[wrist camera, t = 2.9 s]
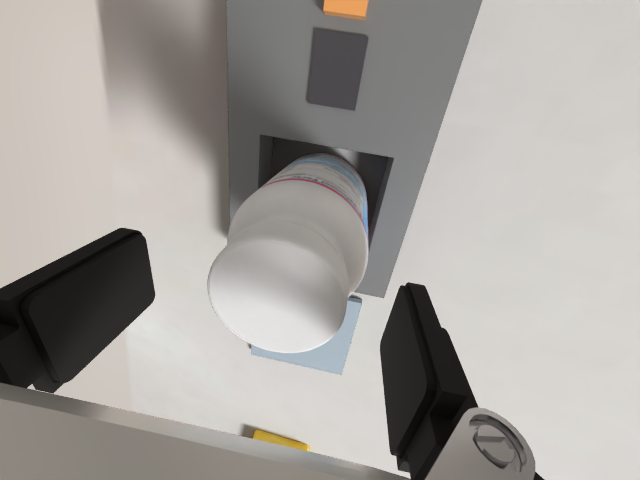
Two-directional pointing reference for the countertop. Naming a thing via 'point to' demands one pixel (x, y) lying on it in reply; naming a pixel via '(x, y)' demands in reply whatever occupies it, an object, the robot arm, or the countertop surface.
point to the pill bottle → (293, 256)
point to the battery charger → (345, 94)
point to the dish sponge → (279, 440)
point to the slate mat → (323, 346)
